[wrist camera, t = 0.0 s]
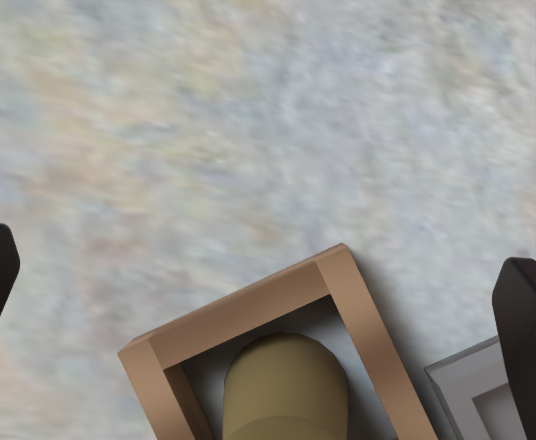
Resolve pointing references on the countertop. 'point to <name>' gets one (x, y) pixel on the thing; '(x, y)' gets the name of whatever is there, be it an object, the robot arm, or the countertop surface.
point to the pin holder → (253, 315)
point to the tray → (477, 393)
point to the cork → (285, 391)
